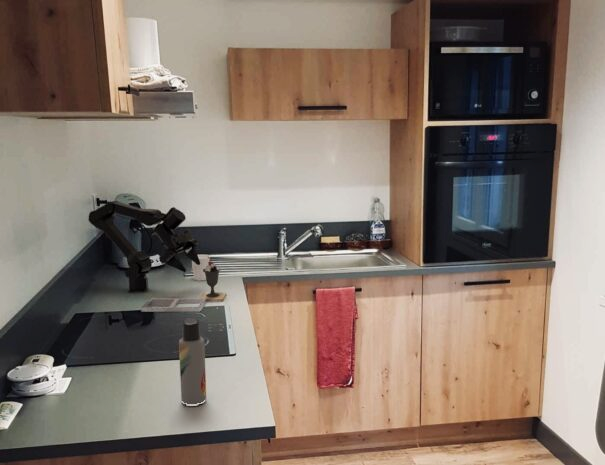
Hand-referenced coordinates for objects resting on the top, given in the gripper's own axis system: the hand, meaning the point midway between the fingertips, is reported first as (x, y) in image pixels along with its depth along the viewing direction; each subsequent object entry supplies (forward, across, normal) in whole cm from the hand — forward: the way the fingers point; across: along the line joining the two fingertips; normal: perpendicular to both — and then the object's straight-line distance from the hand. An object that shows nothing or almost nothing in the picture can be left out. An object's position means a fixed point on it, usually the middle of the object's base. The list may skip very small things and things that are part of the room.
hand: (192, 267), depth 210 cm
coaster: (+14, 0, +1) cm, 14 cm away
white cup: (+2, +22, +18) cm, 29 cm away
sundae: (+13, 0, +1) cm, 13 cm away
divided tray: (+9, -15, +5) cm, 18 cm away
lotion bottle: (+38, -72, -34) cm, 89 cm away
